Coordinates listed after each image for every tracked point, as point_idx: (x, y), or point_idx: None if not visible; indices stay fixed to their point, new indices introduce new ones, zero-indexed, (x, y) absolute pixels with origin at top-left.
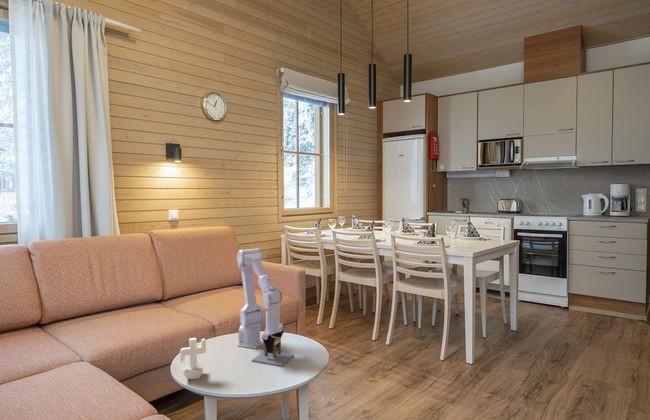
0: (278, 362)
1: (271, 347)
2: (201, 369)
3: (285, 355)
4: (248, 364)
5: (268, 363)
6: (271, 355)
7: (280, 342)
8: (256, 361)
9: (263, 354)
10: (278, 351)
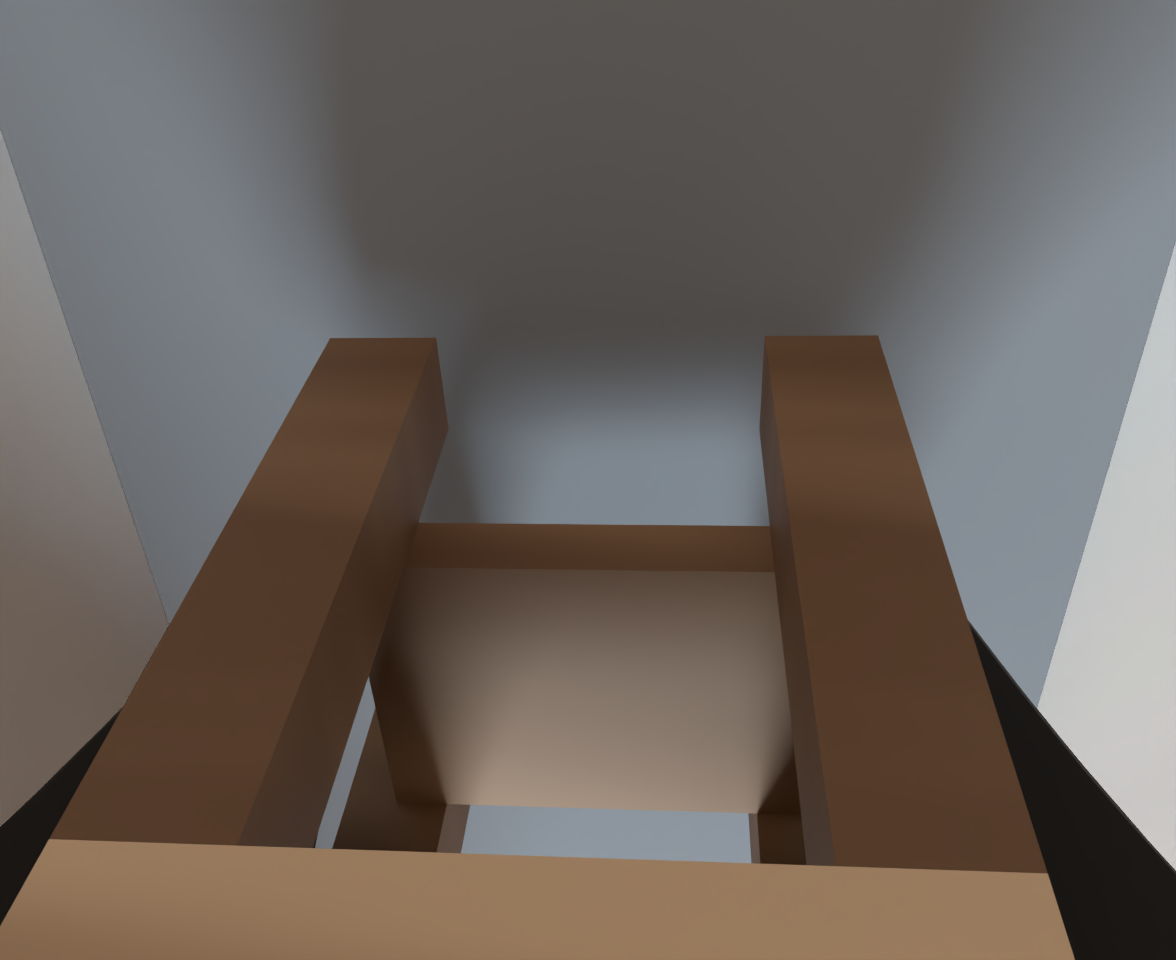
0: (997, 78)
1: (1159, 890)
2: None
3: (203, 133)
4: (1170, 838)
5: (1114, 416)
6: None
7: (160, 758)
8: None
9: None
10: (421, 468)
